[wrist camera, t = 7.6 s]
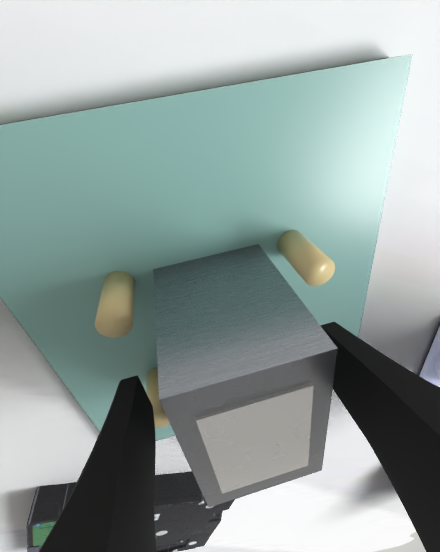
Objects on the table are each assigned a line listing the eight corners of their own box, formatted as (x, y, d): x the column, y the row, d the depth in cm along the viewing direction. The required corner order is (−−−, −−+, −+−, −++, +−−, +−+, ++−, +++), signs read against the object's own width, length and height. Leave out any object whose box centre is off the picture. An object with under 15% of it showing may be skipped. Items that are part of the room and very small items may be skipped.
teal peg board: (390, 57, 10) (486, 42, 7) (341, 371, 20) (373, 416, 17) (-89, 140, 9) (-206, 162, 6) (116, 437, 19) (111, 499, 16)
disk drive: (229, 458, 25) (35, 479, 20) (238, 495, 23) (21, 529, 18) (200, 512, 30) (38, 539, 25) (205, 547, 27) (28, 584, 22)
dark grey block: (258, 244, 12) (340, 351, 7) (266, 353, 16) (323, 473, 11) (153, 269, 12) (159, 403, 6) (188, 375, 15) (209, 511, 10)
